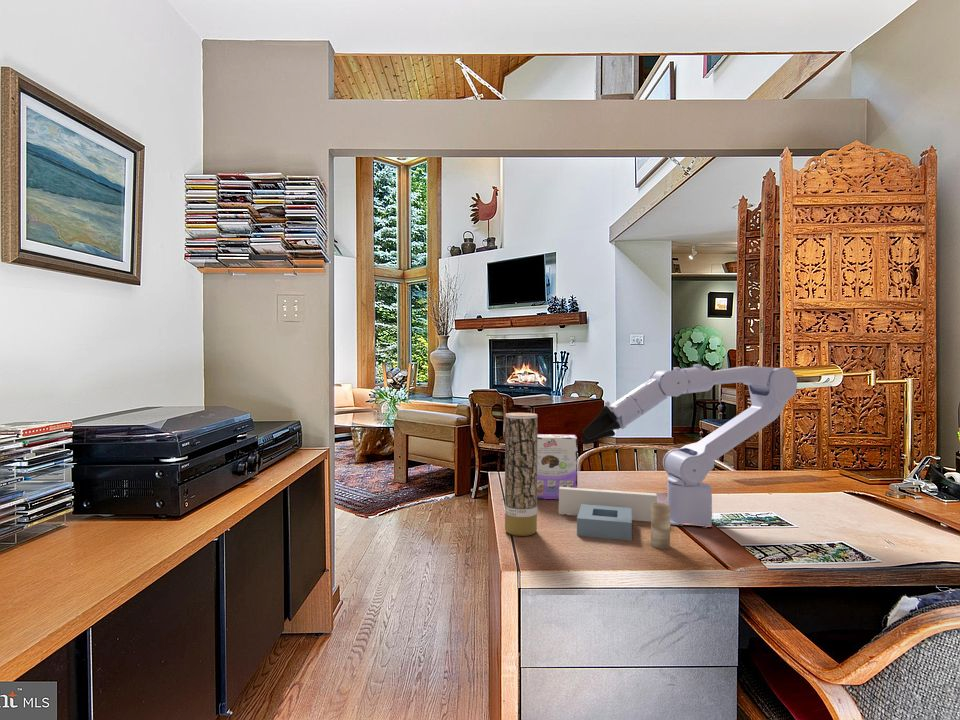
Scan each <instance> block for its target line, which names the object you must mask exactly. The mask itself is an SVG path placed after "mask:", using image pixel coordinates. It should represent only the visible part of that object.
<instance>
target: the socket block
mask: <svg viewBox="0 0 960 720" xmlns="http://www.w3.org/2000/svg"><path fill="white" fill-rule="evenodd" d="M632 524H633V520H632V513H631V508H625V507H612V506H599V505H587V504H581V507H580V510H579V513H578V516H576V536H577V535H581V536H580V537H587V536H589V538H597V537H600V538H599V539H608V538H609V540H622V541H629V542H630V541H631V542H632V539H633V538H632V531H633V528H632V527H633V526H632Z"/></svg>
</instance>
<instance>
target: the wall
mask: <svg viewBox="0 0 960 720" xmlns="http://www.w3.org/2000/svg"><path fill="white" fill-rule="evenodd" d="M657 498H658V496H657V493H656V492H655V493H652V492H641V491H640V492H639V491H637V492H636V491H628V490H627V491H625V490H624V491H623V490H612V489H597V488H596V489H595V488H584V487H583V488H582V487H577V488H571V487H560V488H559V500H558V515H564V514H567V516H576V515H577V516H576V517H578V513H579V510H580V507H581V504H587V505H599V506H612V507H625V508H631V513H632V521H639V522H648V523H649V522H650V523H651V504H653V503H658V500H657Z"/></svg>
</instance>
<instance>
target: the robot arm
mask: <svg viewBox="0 0 960 720" xmlns="http://www.w3.org/2000/svg"><path fill="white" fill-rule="evenodd" d="M672 368H673V369H672V370H669V369H668V370H666V369H659V370H657V371H653V372H652V373H651V375H649V378H648V380H647V381H645V382H643V383H641V384H640V385H639V386H637V387H635V388H634V389H632V390H631V391H629V392H628V393H626V394H625V395H623V396H622V397H621V398H618V399H617V400H615V401H614V402H613V403H610V401H609V400H606V401H605V402H604V406H603V408H602V409H601V410H600V412H599V413H598V414H597V416H596V417H595V418H594V419H593V420H592V421H591V422H590V423H588V425H587V426H585V428H584V429H583V430H582V434H581V436H580V437H579V438H580V440H581V441H582V442H583V444H584V445H589V444H592V443H594V442H596V441H598V440H601V439H604V438H611V437H615V435H616V432H615V431H614V430H619V429H621V430H624V429H625V428H627V426H628V425H630V424H631V423H633V422H634V421H636V420H637V419H639V418H640V417H642V416H643V415H645V414H646V413H648V412H649V411H650V410H652V409H654V408H655V407H656V406H658V405H659V404H660V403H662V402H663V401H665V400H667V399H668V397H680V396H681V395H685V394H693V393H694V394H695V393H702V392H703V393H704V392H709V391H710V390H711V389H712V388H713V386H714V385H725V384H740V383H742V384H743V385H746V386H748V392H749V396H750V397H749V398H750V402H751V405H750V406H749V407H748V408H746V409H745V410H743V411H742V412H740V413H739V414H737V415H735V416H734V417H733V418H731V419H730V420H728V421H727V422H725V423H724V424H722V425H720V426H719V427H718V428H717V429H715V430H713V431H711V432H710V433H709V434H708V435H706V436H705V437H703V438H702V439H700V440H699V441H696V442H693V443H689V444H685V445H684V446H682V447H680V448H676V449H670V450H668V451H667V452H666V453H665V454H664V456H663V458H662V467H663V469H664V471H665V472H666V473H667V477H666V480H667V481H666V483H667V484H666V486H667V487H666V504H668V505H670V525H674V526H675V525H676V526H680V525H679V524H681V523H690V524H691V523H693V524H697V525H704V526H712V527H713V524H712V521H713V520H712V519H713V492H712V486H711V484H709V483H703V481H704V480H705V478H706V477H707V476H708V474H709V473H710V472H711V471H713V470H714V469H715V461H716V460H717V459H719V458H720V457H722V456H724V455H725V454H727V453H728V452H729V451H731V450H732V449H734V448H735V447H737V446H739V445H740V444H741V443H743V442H744V441H745V440H748V439H749V438H750V437H752V436H754V435H755V434H757V433H759V431H761V430H762V429H764V428H765V427H767V426H768V425H769V424H771V423H772V422H774V421H775V420H776V419H778V417H779V416H780V415H781V413H782V411H783V409H784V407H786V405H787V403H788V401H789V399H792V398H793V397H794V396H795V395H796V394H797V387H798V377H797V374H796V373H795V372H794V370H792V369H790V368H789V367H771V366H770V367H769V366H753V365H752V366H749V365H743V366H735V367H730V368H729V367H728V368H724V369H723V368H722V369H718V370H717V369H716V370H712V369H710V368H709V367H708V366H705V365H703V366H702V363H701V364H700V363H699V364H696V363H695V364H693V365H692V366H691V367H685V368H680V367H679V366H676V367H672Z"/></svg>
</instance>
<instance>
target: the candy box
mask: <svg viewBox="0 0 960 720" xmlns="http://www.w3.org/2000/svg"><path fill="white" fill-rule="evenodd" d="M560 487H571V488H578V437H577V435H576V434H555V433H554V434H546V433H545V434H543V433H542V434H541V433H537V500H546V499H559V488H560Z"/></svg>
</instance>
